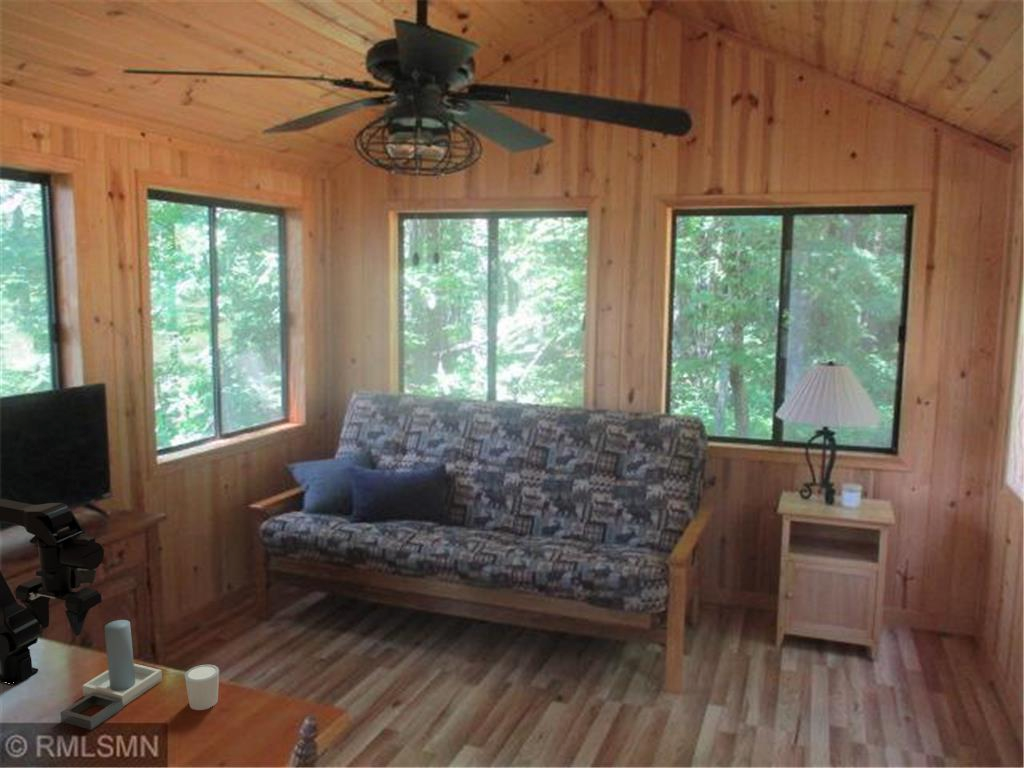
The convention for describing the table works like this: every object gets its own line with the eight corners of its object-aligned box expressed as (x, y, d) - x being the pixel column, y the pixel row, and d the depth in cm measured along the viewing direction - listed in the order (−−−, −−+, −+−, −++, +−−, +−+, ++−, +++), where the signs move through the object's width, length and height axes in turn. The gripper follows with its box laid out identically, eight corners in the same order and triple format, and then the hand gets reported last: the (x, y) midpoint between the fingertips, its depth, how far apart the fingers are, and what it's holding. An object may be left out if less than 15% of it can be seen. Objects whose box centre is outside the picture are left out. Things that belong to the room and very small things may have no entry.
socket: (61, 721, 162) (60, 712, 162) (93, 700, 170) (93, 692, 169) (91, 730, 160) (90, 721, 159) (122, 708, 167) (122, 699, 167)
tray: (83, 695, 171) (82, 685, 171) (123, 670, 182) (123, 660, 181) (123, 706, 168) (122, 695, 167) (162, 680, 178) (161, 670, 177)
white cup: (226, 694, 173) (224, 665, 172) (211, 713, 166) (209, 682, 165) (196, 692, 174) (194, 662, 172) (180, 710, 167) (178, 679, 166)
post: (105, 690, 172) (99, 631, 169) (116, 678, 177) (111, 619, 174) (128, 691, 172) (123, 631, 169) (139, 678, 177) (134, 619, 174)
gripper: (119, 556, 174) (124, 622, 177) (55, 544, 180) (61, 608, 183) (76, 575, 164) (82, 645, 167) (10, 562, 170) (17, 630, 173)
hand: (61, 631), depth 173 cm, fingers open, 9 cm apart
